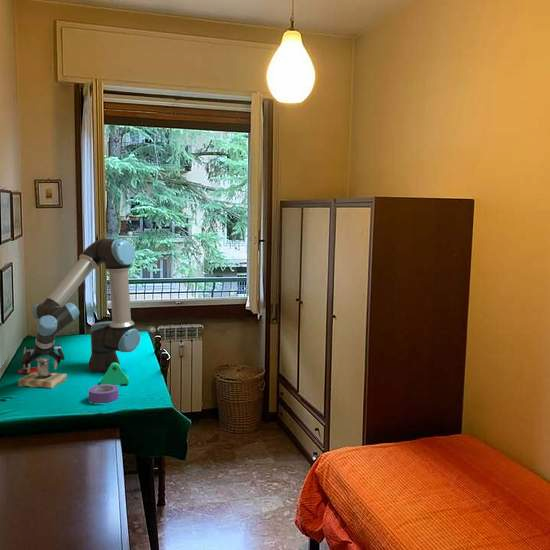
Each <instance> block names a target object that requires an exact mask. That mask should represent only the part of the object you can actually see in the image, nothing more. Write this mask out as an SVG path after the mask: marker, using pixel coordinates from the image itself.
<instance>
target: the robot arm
mask: <svg viewBox="0 0 550 550" xmlns="http://www.w3.org/2000/svg"><path fill="white" fill-rule="evenodd" d="M135 258H136V250H135V247H134V245H133V244H132V243H131V242H130V241H128V240H125V239H122V238H121V239H120V238H99V239H97V240H95V241H94V242H92V243H90V245H88V246H87V247H86V248H85V249H84V250H83V251H82V252H81V254H80V255H79V259H78V261H77V262H76V263H75V264H74V265H73V267H72V268H71V269H70V270H69V271H68V273H67V274H66V275H65V276H64V277H63V278H62V280H61V281H60V282H59V283H58V285H56V287H55V288H54V289H53V290H52V291H51V292H50V294H49V295H48V296H47V298H46V299H45V300H44V301H43V302H39V303H37V304H34V306H33V307H32V309H31V314H32V317H33V318H34V319H35V320H37V321H38V322H37V325H36V326H35V327H36V335H35V341H34V342H35V343H34V347H33V348H32V349H31V348H30V347H26V353H25V354H24V353H23V355H22V356H21V358H20V365H21V366H23V365H24V364H25V368H27V370H28V373H30V371H31V370H30V368H31V363H32V362H33V361H36V360H37V359H39V357H40V358H41V357H42V356H43V357H44V356H49V357H51V358H52V359H54V362H53V366H54V367H53V368H54V370H57V368H58V365H60V363H61V361H64V360H65V359H66V358H65V354H64V353H63V350H62V346H61V344H58V345H57V346H55V342H56V340H55V339H56V335H57V334H58V333H59V332H60V331H62V330H63V329H64V328H66V327H67V326H68V325H70V324H71V323H72V322H74V321H75V320H76V319H77V318H78V317H79V316H80V310H79V308H78V306H76V304H74V303H73V302H68V300H69V299H70V298H71V297H72V295H74V293H75V292H76V291H77V289H78V288H79V287H80V286H81V285H82V283H83V282H84V281H85V280H86V278H87V277H88V276H89V275H90V273H91V272H92V271H93V270H96V269H97V268H99V266H100V265H102V264H104V269H105V270H106V271H107V272H108V277H109V289H110V303H111V319H112V321H111V320H110V321H109V320H108V321H99V322H96V323H93V324H91V327H90V346H91V351H90V352H91V353H90V354H91V355H90V357H89V361H88V363H87V370H88V371H89V372H93V373H94V372H95V373H106V372H107V370H108V369H109V367H110V365H111V364H112V363H114V362H115V363H118V364H119V366H120V367H121V365H120V364H121V363H120V360H119V356H118V354H117V352H120V353H128V354H129V353H131V352H134V351H135V350H137V347H138V346H139V345H140V342H141V333H140V331H139V330H138V329H137V328H136V327H135V322H134V321H133V320H132V317H131V316H132V315H131V298H130V285H129V283H130V282H129V270H130V269H131V267H132V264H133V262H134V261H135ZM55 351H56V352H55ZM113 369H114V370H115V369H117V368H116V367H113Z"/></svg>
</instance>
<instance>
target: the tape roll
mask: <svg viewBox="0 0 550 550" xmlns="http://www.w3.org/2000/svg"><path fill="white" fill-rule="evenodd" d="M118 397H119V386H116V385H111V384H102V385H101V384H97V385H93V386H91V387H89V389H88V402H89V401H90V402H92V403H97V404H98V403H109V402H112V401H115V400H117V399H118ZM118 400H119V399H118ZM90 402H89V403H90Z"/></svg>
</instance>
